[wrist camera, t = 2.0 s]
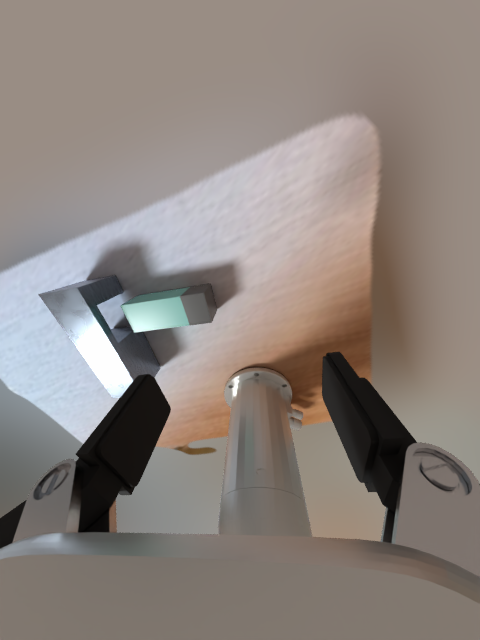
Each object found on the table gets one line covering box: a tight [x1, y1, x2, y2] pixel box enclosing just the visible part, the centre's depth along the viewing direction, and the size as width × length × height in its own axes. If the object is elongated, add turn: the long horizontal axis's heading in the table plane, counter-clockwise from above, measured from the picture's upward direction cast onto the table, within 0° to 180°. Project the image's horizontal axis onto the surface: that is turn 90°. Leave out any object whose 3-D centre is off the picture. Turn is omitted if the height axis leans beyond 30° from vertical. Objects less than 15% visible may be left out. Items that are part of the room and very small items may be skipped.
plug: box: [121, 284, 217, 333], centre depth 24 cm, size 11×4×4 cm, turn 100°
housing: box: [38, 275, 160, 398], centre depth 26 cm, size 5×17×6 cm, turn 10°
